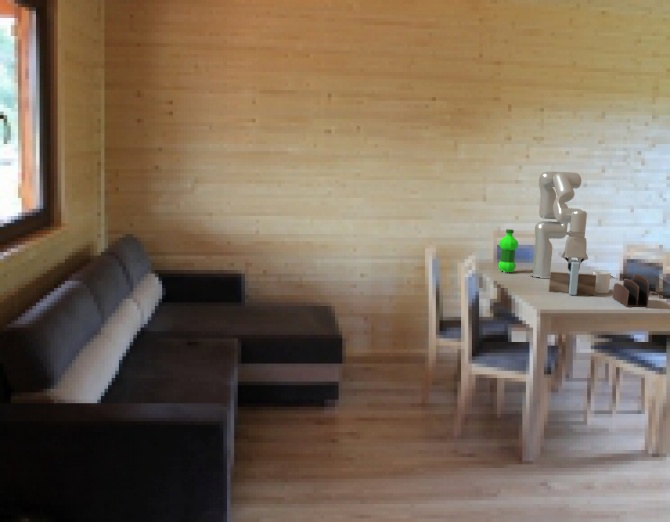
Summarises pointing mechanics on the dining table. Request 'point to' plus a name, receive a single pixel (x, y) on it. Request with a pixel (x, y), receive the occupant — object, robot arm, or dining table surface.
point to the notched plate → (573, 277)
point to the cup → (602, 281)
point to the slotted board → (561, 283)
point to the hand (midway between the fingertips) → (573, 270)
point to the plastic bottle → (508, 252)
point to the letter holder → (632, 292)
